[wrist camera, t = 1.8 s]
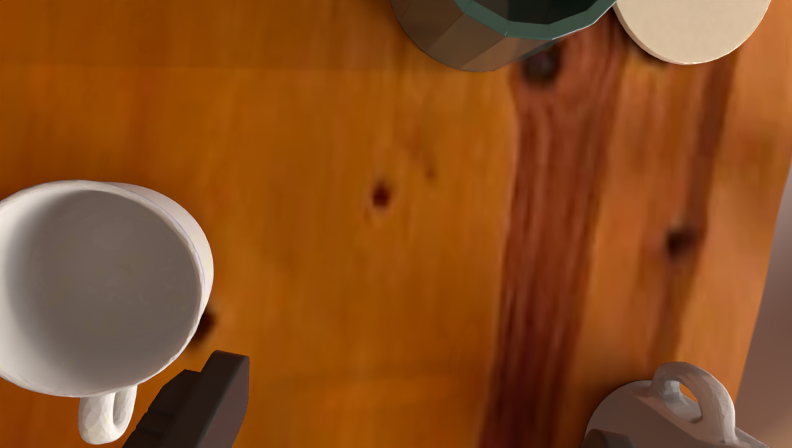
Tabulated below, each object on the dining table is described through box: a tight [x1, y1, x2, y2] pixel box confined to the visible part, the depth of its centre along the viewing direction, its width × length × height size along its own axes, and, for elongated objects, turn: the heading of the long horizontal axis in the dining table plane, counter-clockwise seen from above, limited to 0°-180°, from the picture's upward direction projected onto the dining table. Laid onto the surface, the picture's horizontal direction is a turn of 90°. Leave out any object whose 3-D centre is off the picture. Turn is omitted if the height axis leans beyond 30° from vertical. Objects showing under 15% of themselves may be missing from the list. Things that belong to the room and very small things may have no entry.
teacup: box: [0, 180, 213, 444], centre depth 26 cm, size 14×11×8 cm
